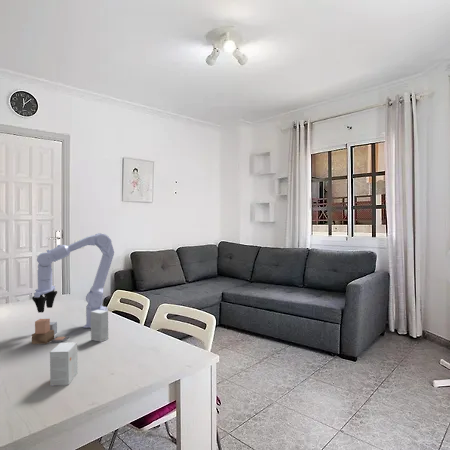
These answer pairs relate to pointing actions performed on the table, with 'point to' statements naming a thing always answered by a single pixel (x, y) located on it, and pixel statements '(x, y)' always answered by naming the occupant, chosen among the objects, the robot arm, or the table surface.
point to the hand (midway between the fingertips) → (45, 309)
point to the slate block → (53, 327)
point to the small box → (63, 363)
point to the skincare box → (99, 325)
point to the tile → (60, 339)
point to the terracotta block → (42, 326)
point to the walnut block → (43, 337)
